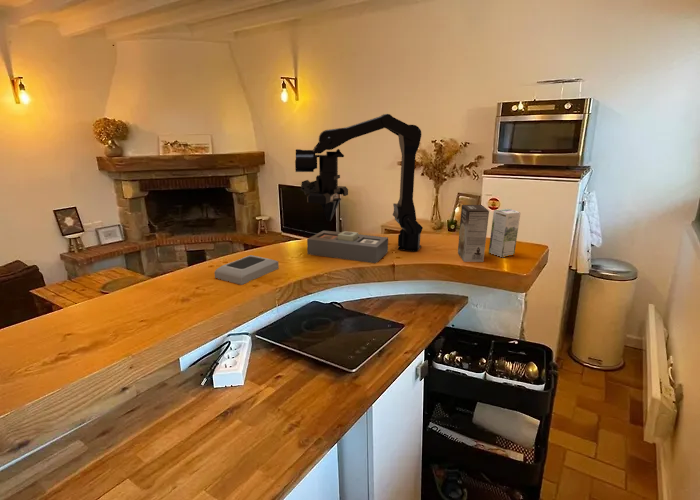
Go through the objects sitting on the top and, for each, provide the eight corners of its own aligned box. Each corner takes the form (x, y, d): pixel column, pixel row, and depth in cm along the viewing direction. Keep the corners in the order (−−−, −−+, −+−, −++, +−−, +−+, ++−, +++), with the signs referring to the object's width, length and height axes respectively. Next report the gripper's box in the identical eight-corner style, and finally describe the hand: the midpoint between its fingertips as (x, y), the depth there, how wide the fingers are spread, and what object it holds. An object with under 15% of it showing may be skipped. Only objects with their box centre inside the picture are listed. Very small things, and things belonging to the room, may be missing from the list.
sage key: (358, 241, 135) (358, 232, 134) (352, 245, 131) (352, 235, 130) (343, 240, 137) (343, 230, 136) (337, 243, 132) (337, 234, 132)
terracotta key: (338, 244, 138) (338, 235, 137) (332, 248, 134) (332, 239, 133) (324, 243, 140) (324, 234, 139) (317, 247, 135) (317, 237, 135)
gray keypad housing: (387, 252, 136) (388, 237, 135) (376, 263, 125) (376, 247, 124) (323, 244, 144) (323, 230, 143) (307, 254, 134) (307, 239, 132)
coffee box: (456, 253, 136) (460, 204, 132) (476, 253, 136) (481, 204, 131) (463, 262, 127) (468, 210, 123) (484, 262, 127) (490, 210, 123)
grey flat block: (278, 257, 119) (240, 273, 107) (278, 269, 121) (241, 286, 108) (252, 252, 124) (213, 266, 111) (253, 264, 125) (215, 279, 113)
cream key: (378, 249, 133) (378, 240, 132) (373, 254, 129) (373, 244, 128) (363, 248, 135) (364, 238, 134) (358, 252, 131) (358, 242, 130)
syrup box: (501, 251, 139) (506, 207, 134) (515, 256, 133) (520, 211, 129) (488, 253, 136) (492, 209, 132) (501, 258, 131) (507, 212, 127)
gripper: (318, 168, 141) (318, 213, 146) (290, 173, 125) (292, 224, 129) (348, 169, 137) (348, 216, 142) (324, 175, 121) (325, 228, 125)
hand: (328, 221), depth 135 cm, fingers closed
